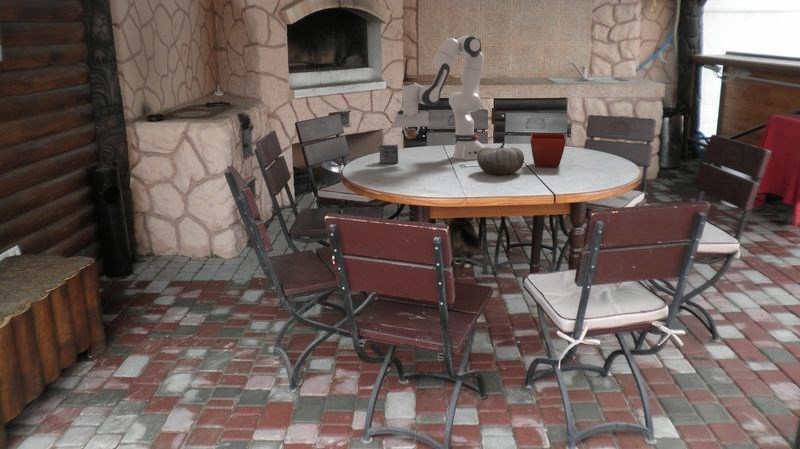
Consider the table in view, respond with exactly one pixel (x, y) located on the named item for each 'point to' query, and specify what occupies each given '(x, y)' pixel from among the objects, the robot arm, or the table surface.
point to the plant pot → (547, 149)
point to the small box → (388, 154)
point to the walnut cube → (411, 133)
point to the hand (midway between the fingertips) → (411, 134)
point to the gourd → (500, 160)
